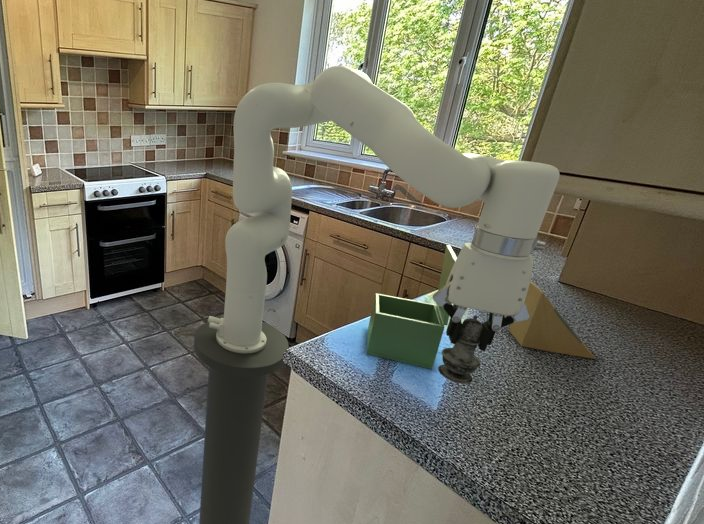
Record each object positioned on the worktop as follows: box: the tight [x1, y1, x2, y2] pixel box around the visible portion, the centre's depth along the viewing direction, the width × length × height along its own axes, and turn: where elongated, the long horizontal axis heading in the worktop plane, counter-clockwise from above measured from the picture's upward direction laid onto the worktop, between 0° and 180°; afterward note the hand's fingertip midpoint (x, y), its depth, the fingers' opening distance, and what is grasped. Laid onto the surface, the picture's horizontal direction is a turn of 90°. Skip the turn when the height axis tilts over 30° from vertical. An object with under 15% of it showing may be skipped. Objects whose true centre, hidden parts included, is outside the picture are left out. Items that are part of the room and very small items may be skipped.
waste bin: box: [366, 292, 445, 370], centre depth 96 cm, size 14×12×11 cm
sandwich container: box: [508, 280, 597, 360], centre depth 100 cm, size 9×15×15 cm, turn 72°
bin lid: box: [435, 244, 458, 326], centre depth 88 cm, size 14×12×5 cm
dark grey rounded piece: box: [437, 314, 483, 385], centre depth 70 cm, size 6×6×12 cm
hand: (466, 342), depth 70 cm, fingers closed on dark grey rounded piece, 3 cm apart
